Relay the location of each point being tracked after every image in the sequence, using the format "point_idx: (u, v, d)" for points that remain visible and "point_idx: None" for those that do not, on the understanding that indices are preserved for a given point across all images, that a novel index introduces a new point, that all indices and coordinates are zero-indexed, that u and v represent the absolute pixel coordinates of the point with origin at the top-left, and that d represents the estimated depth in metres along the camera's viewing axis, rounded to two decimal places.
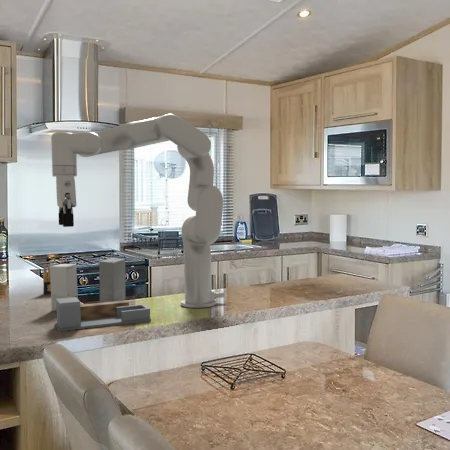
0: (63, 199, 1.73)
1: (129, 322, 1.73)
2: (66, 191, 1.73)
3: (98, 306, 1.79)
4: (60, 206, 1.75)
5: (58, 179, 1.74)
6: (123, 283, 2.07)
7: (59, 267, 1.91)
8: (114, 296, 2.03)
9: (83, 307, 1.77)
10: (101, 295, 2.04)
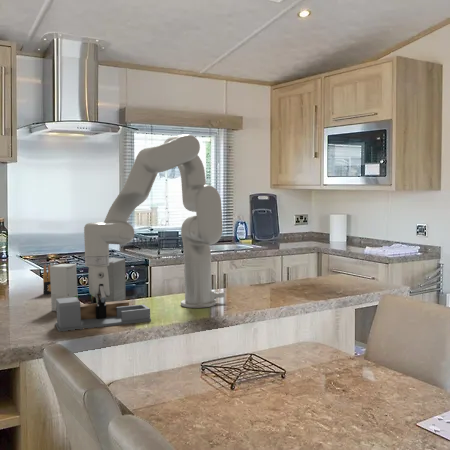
0: (97, 290, 1.75)
1: (129, 322, 1.73)
2: (99, 282, 1.75)
3: None
4: (94, 296, 1.76)
5: (91, 270, 1.76)
6: (123, 283, 2.07)
7: (59, 267, 1.91)
8: (114, 295, 2.03)
9: (83, 307, 1.77)
10: None
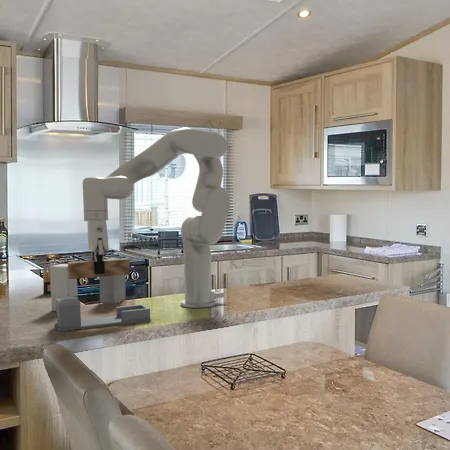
0: (96, 244, 1.74)
1: (129, 322, 1.73)
2: (98, 236, 1.74)
3: None
4: (92, 251, 1.76)
5: (90, 224, 1.75)
6: (123, 283, 2.07)
7: (59, 267, 1.91)
8: (114, 296, 2.03)
9: (83, 263, 1.76)
10: (101, 295, 2.04)
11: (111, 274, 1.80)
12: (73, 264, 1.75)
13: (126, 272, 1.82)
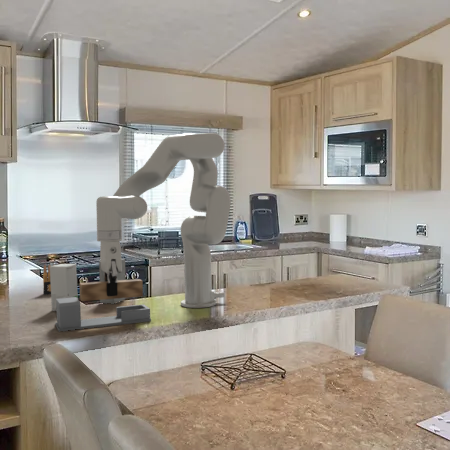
0: (109, 265, 1.69)
1: (129, 322, 1.73)
2: (112, 257, 1.69)
3: None
4: (106, 272, 1.71)
5: (104, 245, 1.71)
6: None
7: (59, 267, 1.91)
8: None
9: (96, 284, 1.71)
10: None
11: (124, 296, 1.75)
12: (85, 285, 1.70)
13: (139, 294, 1.77)
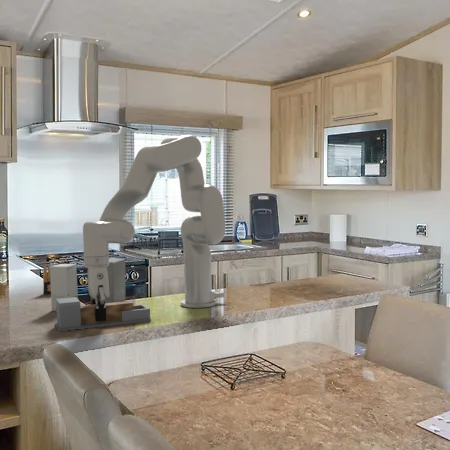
0: (96, 292, 1.68)
1: (129, 322, 1.73)
2: (99, 283, 1.68)
3: None
4: (93, 298, 1.70)
5: (90, 270, 1.69)
6: (123, 283, 2.07)
7: (59, 267, 1.91)
8: (114, 296, 2.03)
9: (86, 308, 1.71)
10: None
11: (115, 319, 1.74)
12: None
13: None
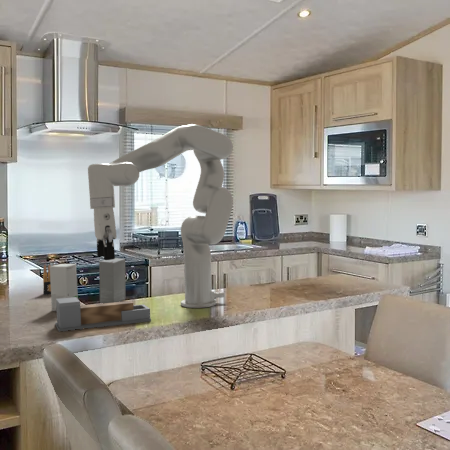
0: (103, 232, 1.70)
1: (129, 322, 1.73)
2: (105, 223, 1.70)
3: (102, 307, 1.72)
4: (100, 239, 1.72)
5: (97, 212, 1.71)
6: (123, 283, 2.07)
7: (59, 267, 1.91)
8: (114, 295, 2.03)
9: (86, 308, 1.71)
10: (101, 295, 2.04)
11: (115, 319, 1.74)
12: None
13: None
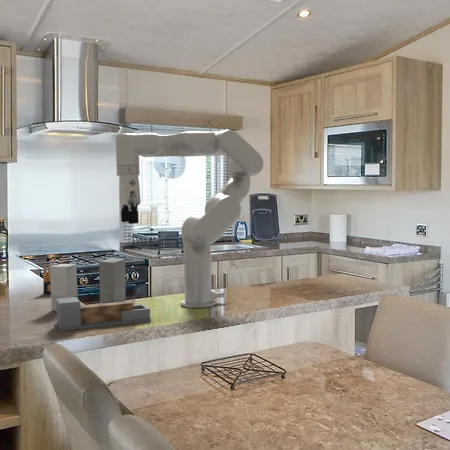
0: (128, 197, 1.82)
1: (129, 322, 1.73)
2: (131, 189, 1.82)
3: (102, 307, 1.72)
4: (125, 204, 1.83)
5: (123, 178, 1.83)
6: (123, 283, 2.07)
7: (59, 267, 1.91)
8: (114, 295, 2.03)
9: (86, 308, 1.71)
10: (101, 295, 2.04)
11: (115, 319, 1.74)
12: None
13: None
